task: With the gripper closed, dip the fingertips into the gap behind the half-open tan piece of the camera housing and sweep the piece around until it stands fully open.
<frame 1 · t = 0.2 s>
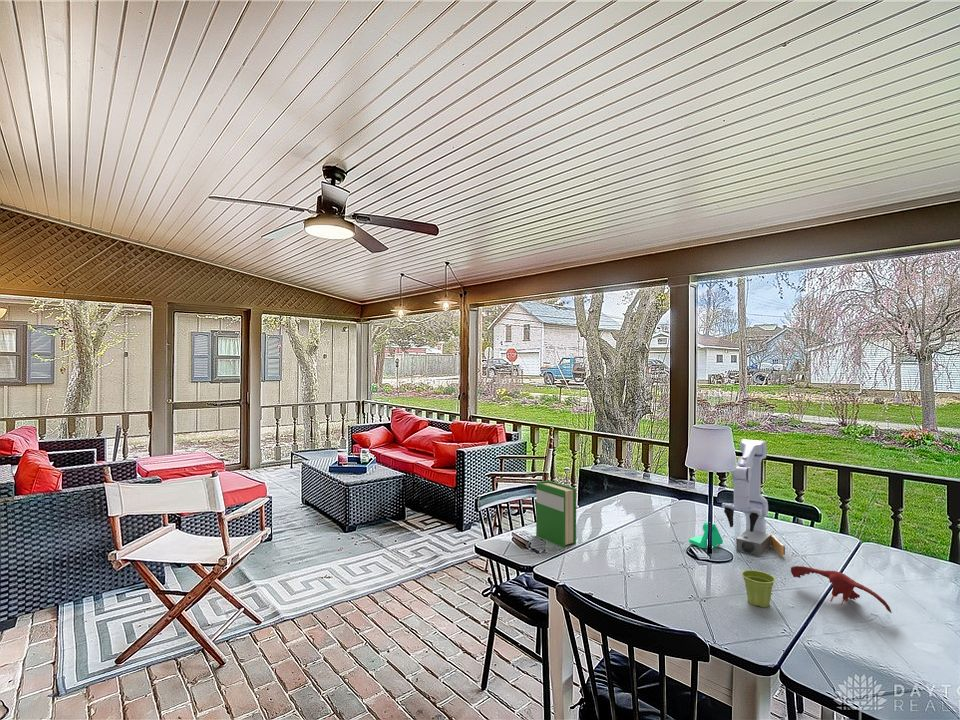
hand: (741, 528, 197), 10 cm above the table, tool pointing down, fingers open, 7 cm apart
red toy dinosaur: (840, 603, 155), on the table
tan piece: (777, 545, 198), point 3 cm above the table, hinge at 30.0°
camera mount: (705, 545, 205), on the table
plant pot: (758, 603, 154), on the table
hardback book: (555, 540, 211), on the table
camera housing: (753, 548, 202), on the table
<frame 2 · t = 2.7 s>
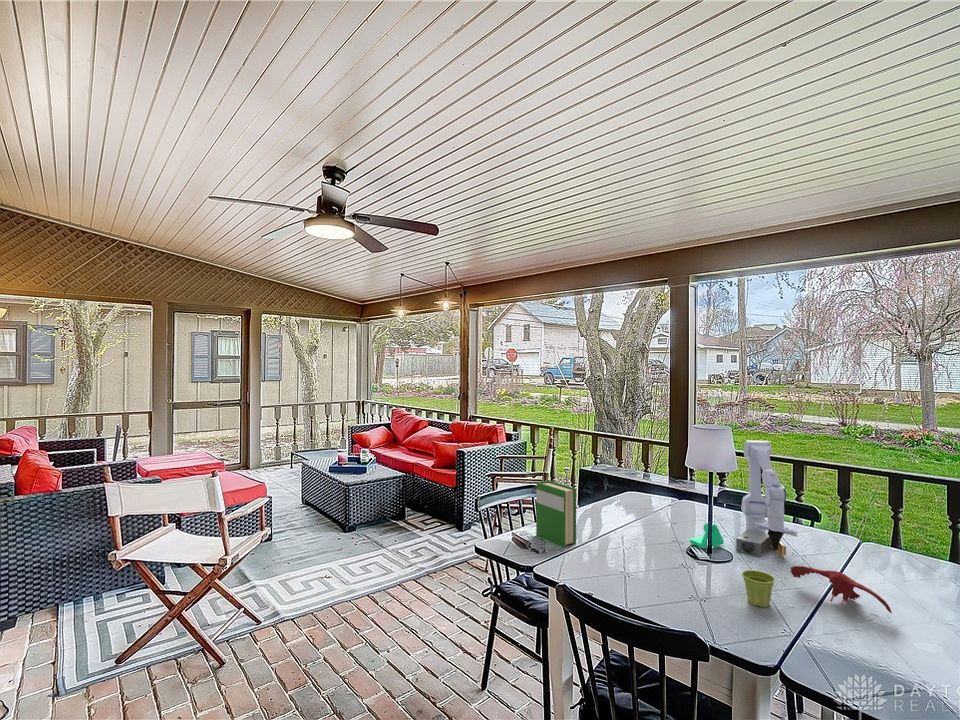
hand: (775, 549, 194), 2 cm above the table, tool pointing down, fingers closed
tan piece: (778, 545, 198), point 3 cm above the table, hinge at 31.6°, touching gripper
everything else where it was.
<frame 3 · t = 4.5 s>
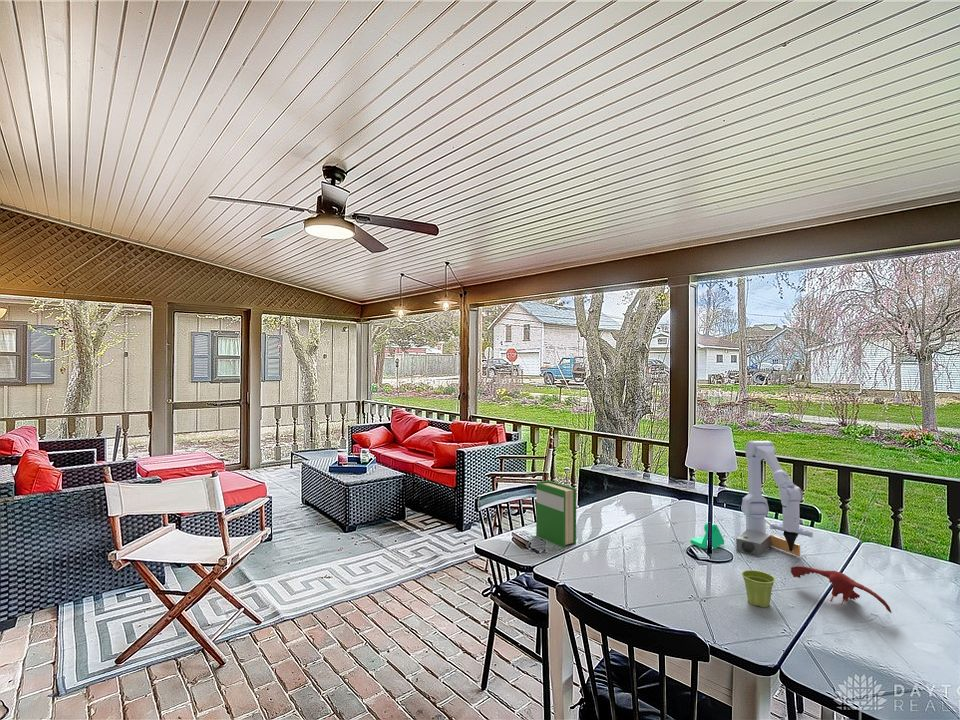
hand: (791, 550, 193), 2 cm above the table, tool pointing down, fingers closed
tan piece: (785, 545, 198), point 3 cm above the table, hinge at 64.5°, touching gripper
everything else where it was.
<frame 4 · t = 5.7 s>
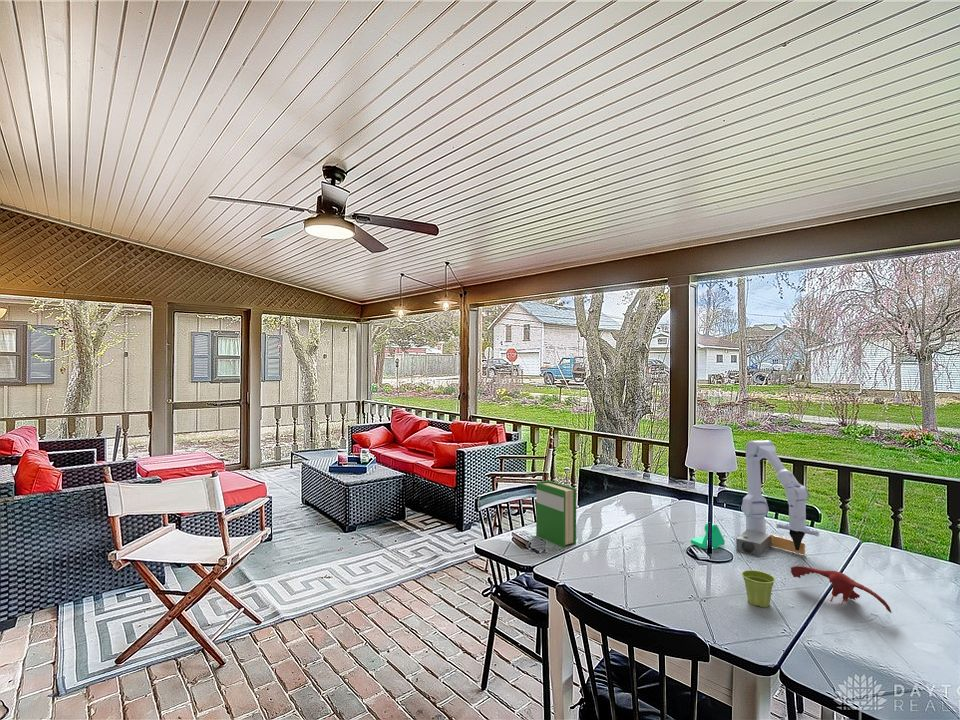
hand: (797, 549, 194), 2 cm above the table, tool pointing down, fingers closed, pressing on tan piece
tan piece: (787, 544, 199), point 3 cm above the table, hinge at 82.9°, touching gripper
everything else where it was.
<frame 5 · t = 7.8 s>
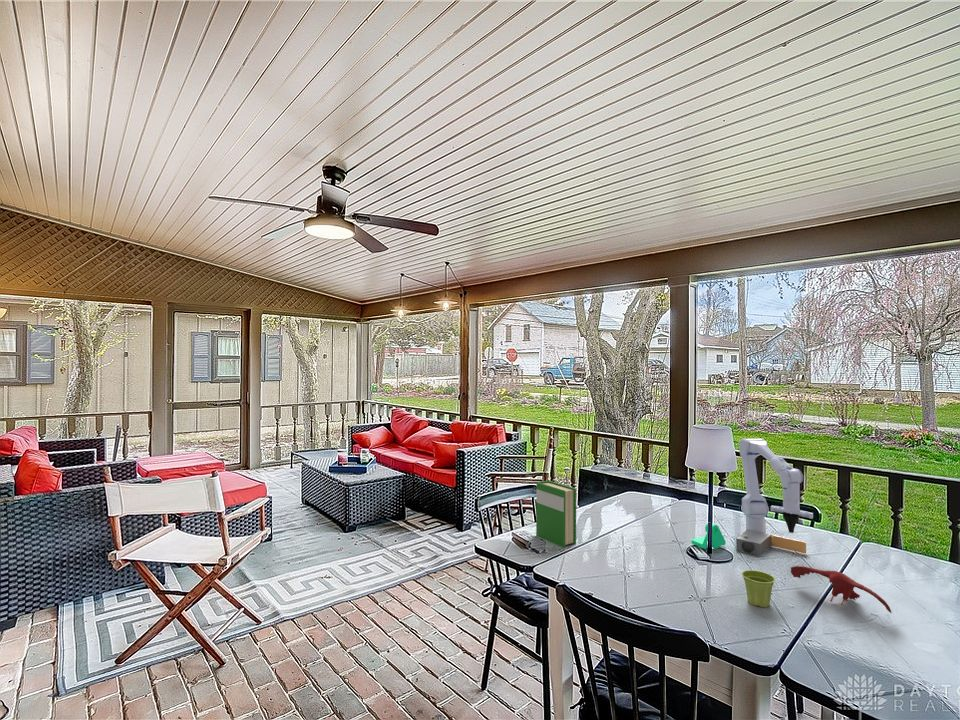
hand: (791, 532, 195), 9 cm above the table, tool pointing down, fingers closed
tan piece: (788, 543, 200), point 3 cm above the table, hinge at 92.1°
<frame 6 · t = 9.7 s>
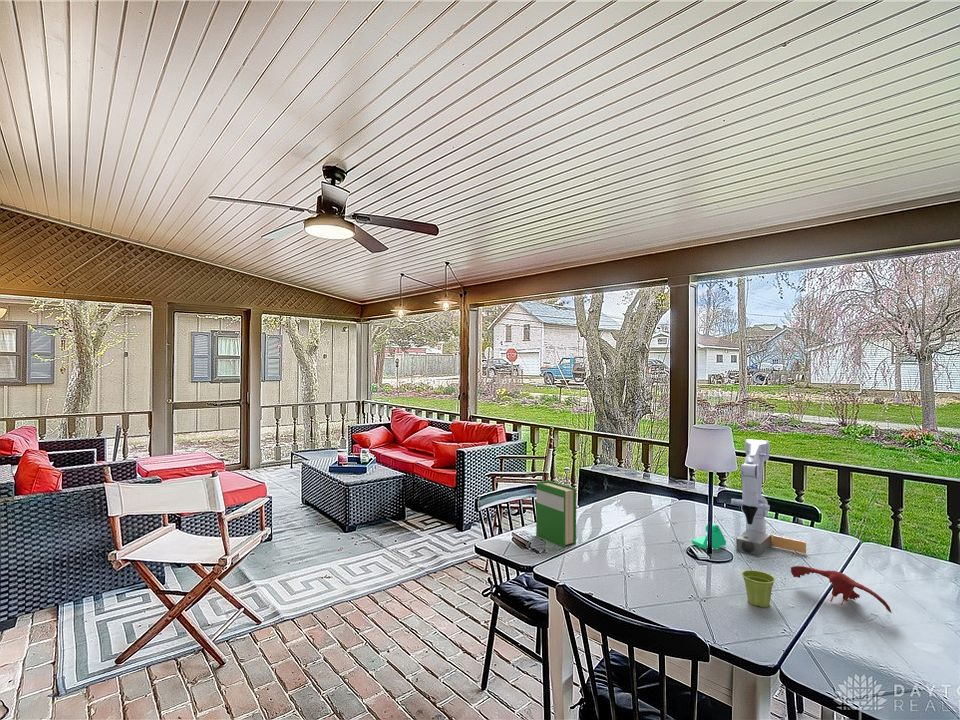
hand: (750, 523, 205), 9 cm above the table, tool pointing down, fingers closed
at the end: tan piece at +92° (first picture: +30°); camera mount moved 1.7 cm from its start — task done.
